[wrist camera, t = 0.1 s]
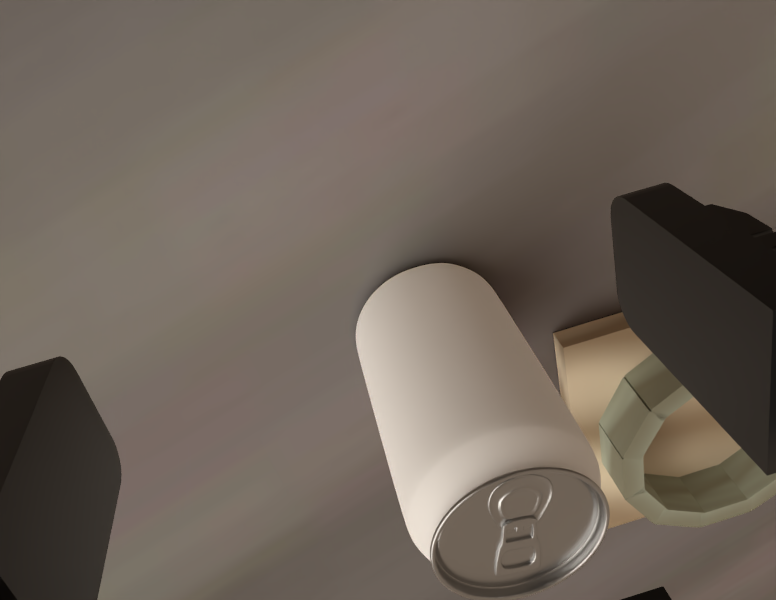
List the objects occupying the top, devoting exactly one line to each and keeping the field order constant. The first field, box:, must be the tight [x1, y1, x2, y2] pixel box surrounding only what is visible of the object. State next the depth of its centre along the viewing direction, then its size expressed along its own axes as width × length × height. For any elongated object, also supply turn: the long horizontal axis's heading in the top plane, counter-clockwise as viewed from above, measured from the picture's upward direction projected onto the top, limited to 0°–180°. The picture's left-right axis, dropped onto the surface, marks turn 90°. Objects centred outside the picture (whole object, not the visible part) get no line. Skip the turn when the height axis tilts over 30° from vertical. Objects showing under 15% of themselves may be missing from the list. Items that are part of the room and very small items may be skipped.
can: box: [356, 263, 610, 600], centre depth 27 cm, size 6×6×12 cm
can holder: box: [553, 312, 776, 529], centre depth 36 cm, size 13×13×4 cm
